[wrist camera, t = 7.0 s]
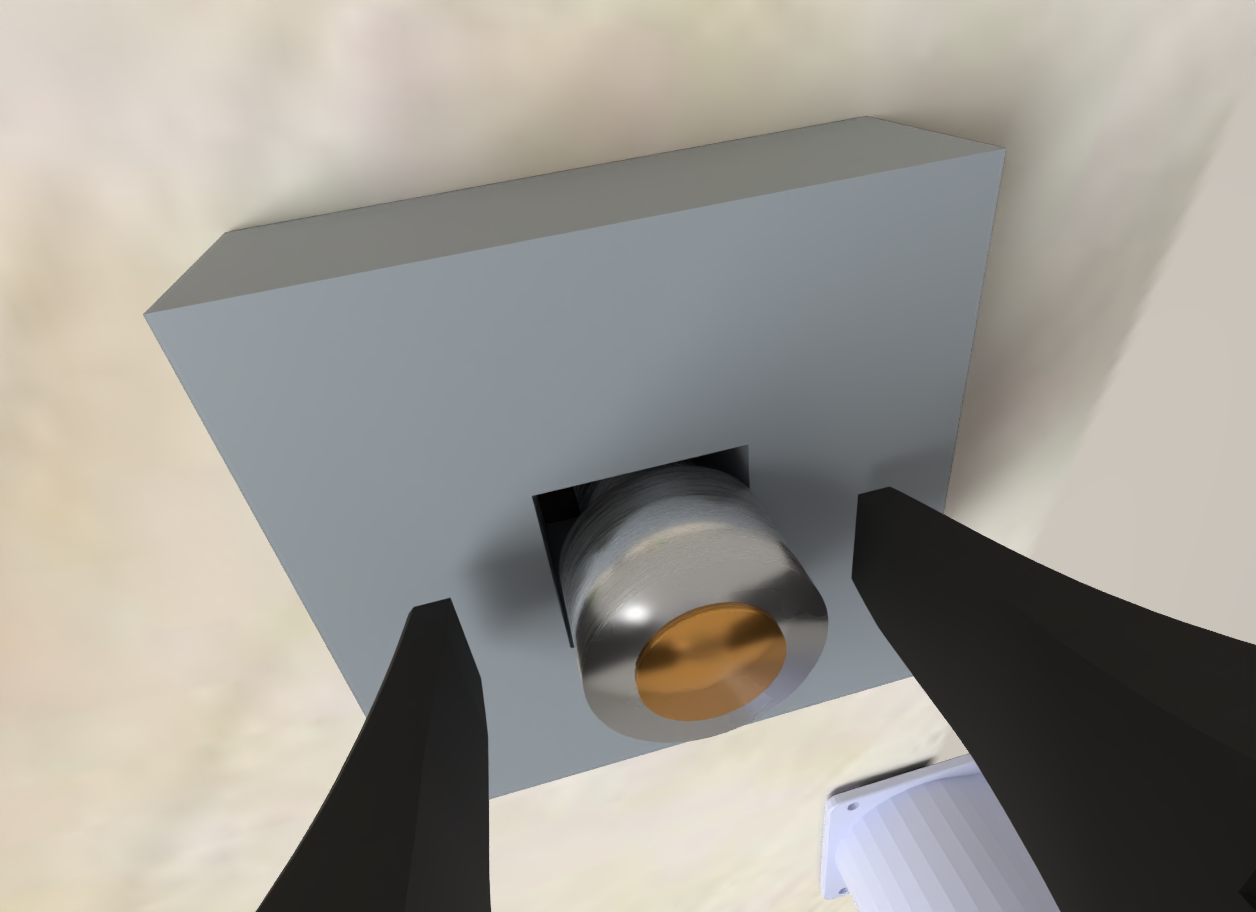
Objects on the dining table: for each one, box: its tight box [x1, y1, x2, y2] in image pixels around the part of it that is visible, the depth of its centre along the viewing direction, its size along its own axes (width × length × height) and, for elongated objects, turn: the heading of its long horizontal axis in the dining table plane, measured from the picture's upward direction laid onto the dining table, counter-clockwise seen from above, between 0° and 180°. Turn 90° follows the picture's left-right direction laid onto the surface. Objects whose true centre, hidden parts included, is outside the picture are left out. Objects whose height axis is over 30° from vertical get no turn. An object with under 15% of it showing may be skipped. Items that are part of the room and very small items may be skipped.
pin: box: [559, 458, 828, 743], centre depth 13 cm, size 4×4×7 cm
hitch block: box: [143, 116, 1006, 799], centre depth 14 cm, size 12×12×4 cm
